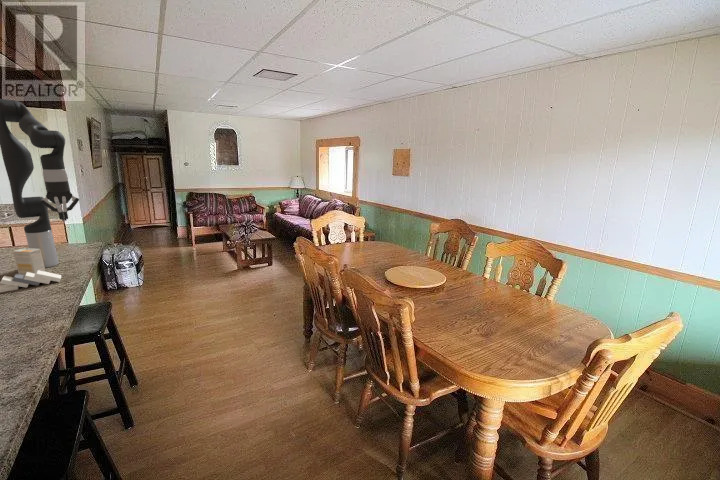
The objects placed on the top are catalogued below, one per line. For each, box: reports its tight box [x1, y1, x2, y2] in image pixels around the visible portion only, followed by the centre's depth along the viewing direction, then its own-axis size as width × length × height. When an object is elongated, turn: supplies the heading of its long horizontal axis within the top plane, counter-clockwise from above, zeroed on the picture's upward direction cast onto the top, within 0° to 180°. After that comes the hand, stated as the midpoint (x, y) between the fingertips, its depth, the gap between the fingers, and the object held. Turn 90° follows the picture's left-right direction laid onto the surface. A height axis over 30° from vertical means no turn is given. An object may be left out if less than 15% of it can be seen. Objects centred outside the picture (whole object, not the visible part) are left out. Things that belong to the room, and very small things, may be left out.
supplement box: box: [12, 247, 47, 275], centre depth 146 cm, size 8×5×13 cm, turn 84°
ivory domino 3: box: [24, 272, 51, 285], centre depth 141 cm, size 5×2×8 cm
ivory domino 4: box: [35, 270, 62, 283], centre depth 143 cm, size 5×2×8 cm
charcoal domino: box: [12, 273, 40, 287], centre depth 139 cm, size 5×2×8 cm
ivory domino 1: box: [0, 275, 30, 288], centre depth 137 cm, size 5×2×8 cm
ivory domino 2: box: [0, 284, 20, 293], centre depth 135 cm, size 5×2×8 cm
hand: (64, 220), depth 145 cm, fingers closed
